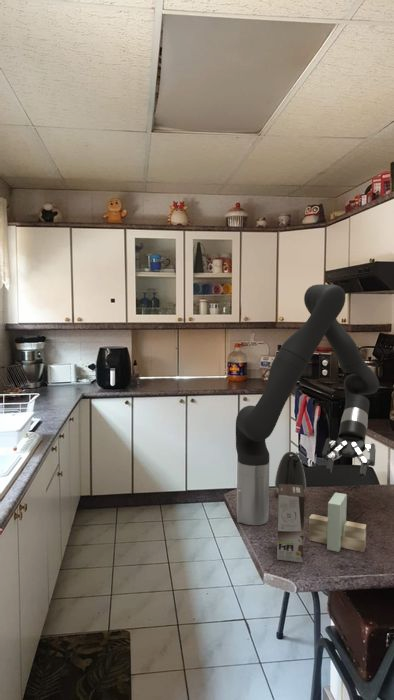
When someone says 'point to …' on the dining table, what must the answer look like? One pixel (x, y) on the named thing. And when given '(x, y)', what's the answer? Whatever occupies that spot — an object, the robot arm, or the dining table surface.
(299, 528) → the coffee box
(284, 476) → the dark grey rounded-top part
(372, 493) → the dining table surface
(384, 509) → the dining table surface
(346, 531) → the birch slotted plate
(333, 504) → the mint green upright block
